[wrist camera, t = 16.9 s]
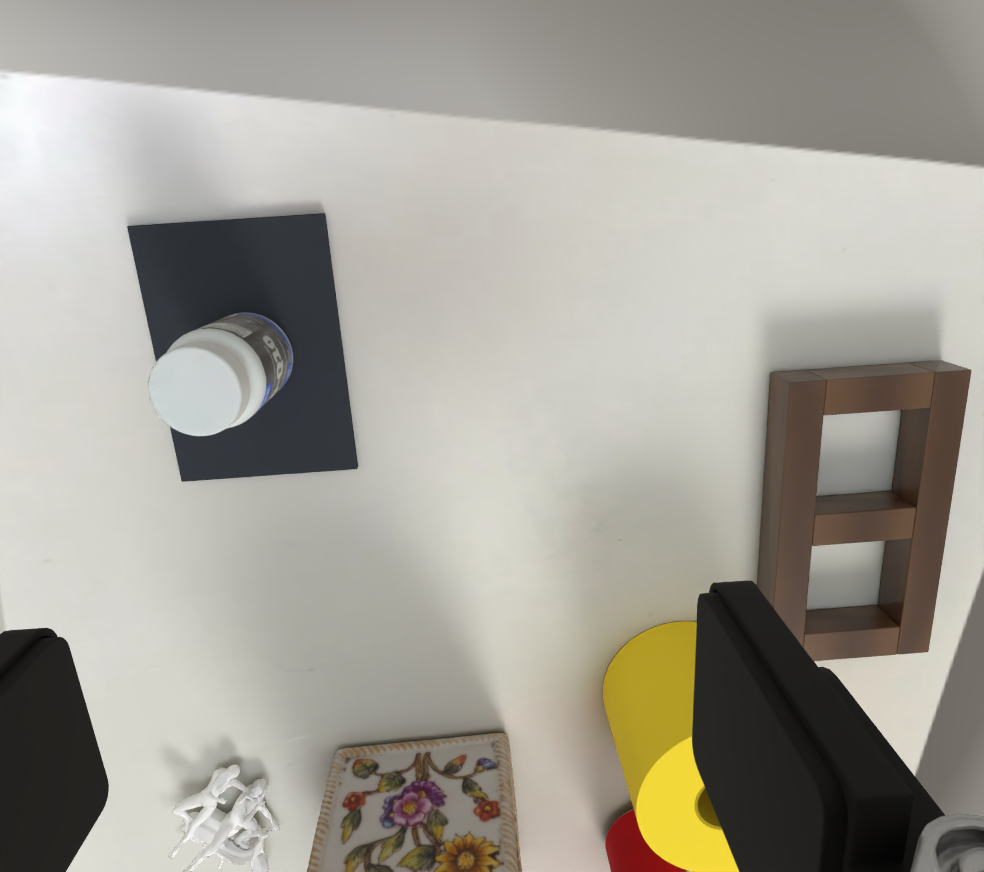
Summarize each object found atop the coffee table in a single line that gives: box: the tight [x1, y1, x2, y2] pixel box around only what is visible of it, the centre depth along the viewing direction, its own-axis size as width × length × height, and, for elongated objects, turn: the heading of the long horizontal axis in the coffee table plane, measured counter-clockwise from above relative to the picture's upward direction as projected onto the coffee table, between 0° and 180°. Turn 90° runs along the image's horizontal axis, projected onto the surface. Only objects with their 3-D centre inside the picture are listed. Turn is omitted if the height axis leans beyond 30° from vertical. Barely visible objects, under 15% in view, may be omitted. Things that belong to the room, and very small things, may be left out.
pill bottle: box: [148, 313, 293, 436], centre depth 34 cm, size 5×5×8 cm
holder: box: [757, 360, 971, 661], centre depth 42 cm, size 10×18×2 cm, turn 4°
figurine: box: [168, 764, 280, 872], centre depth 46 cm, size 3×8×8 cm
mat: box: [127, 213, 358, 482], centre depth 38 cm, size 14×10×1 cm
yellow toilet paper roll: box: [603, 621, 739, 872], centre depth 42 cm, size 10×10×9 cm
